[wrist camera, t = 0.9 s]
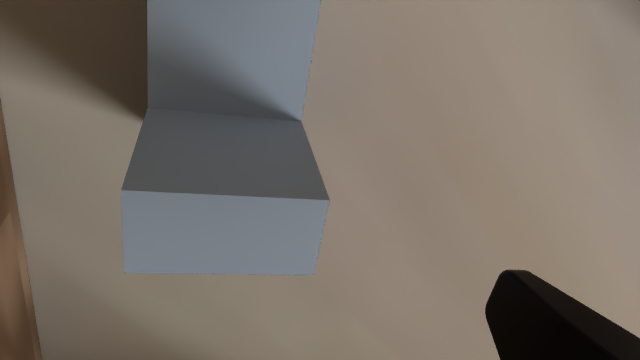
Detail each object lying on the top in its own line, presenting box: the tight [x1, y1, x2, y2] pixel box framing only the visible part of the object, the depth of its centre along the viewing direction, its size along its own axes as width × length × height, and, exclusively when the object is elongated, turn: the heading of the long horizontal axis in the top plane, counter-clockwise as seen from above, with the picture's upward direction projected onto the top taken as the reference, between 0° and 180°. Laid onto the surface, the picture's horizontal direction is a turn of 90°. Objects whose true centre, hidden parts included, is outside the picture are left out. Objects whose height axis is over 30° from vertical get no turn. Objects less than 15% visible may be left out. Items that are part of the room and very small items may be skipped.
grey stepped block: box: [121, 0, 330, 275], centre depth 12 cm, size 6×4×7 cm, turn 170°
